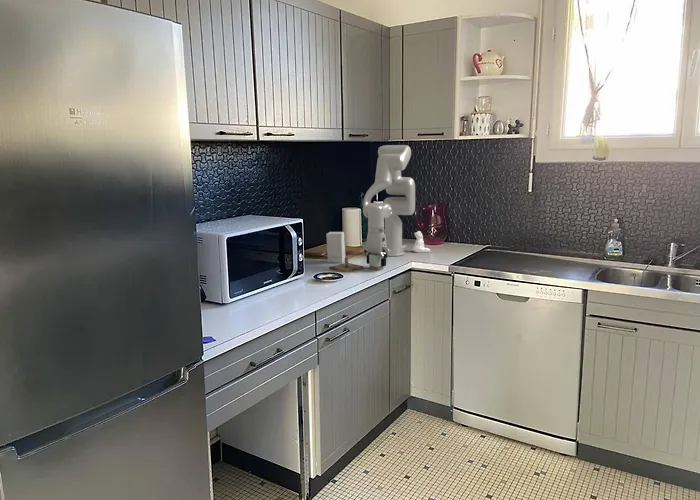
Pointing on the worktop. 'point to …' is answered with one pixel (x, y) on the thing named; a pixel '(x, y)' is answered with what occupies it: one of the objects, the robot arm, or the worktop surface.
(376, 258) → the sleeve
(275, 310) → the worktop surface
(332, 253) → the skincare box
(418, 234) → the white creature statuette
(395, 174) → the robot arm
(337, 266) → the pin board
